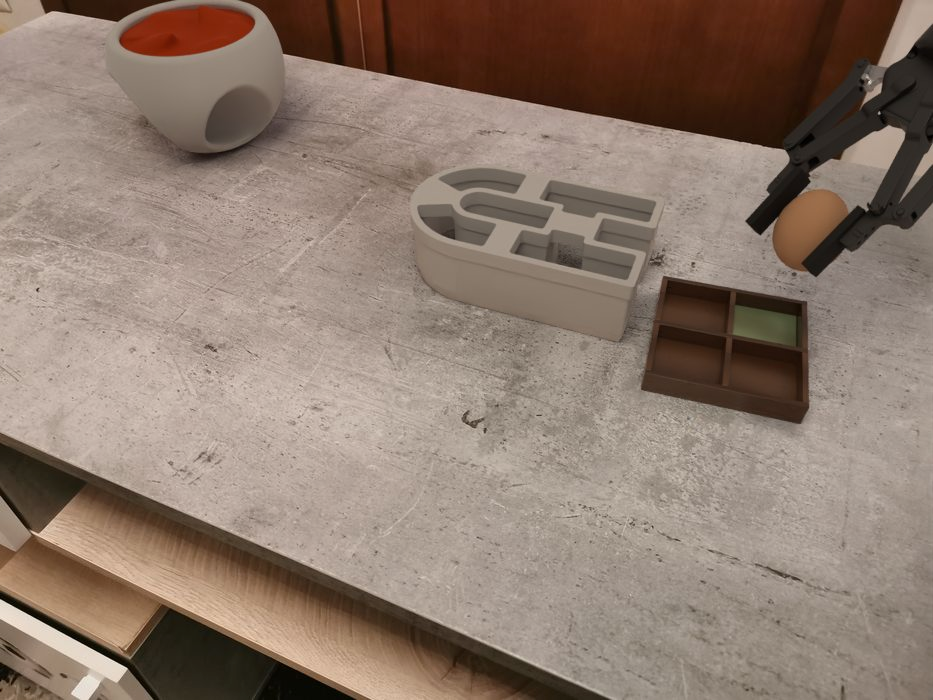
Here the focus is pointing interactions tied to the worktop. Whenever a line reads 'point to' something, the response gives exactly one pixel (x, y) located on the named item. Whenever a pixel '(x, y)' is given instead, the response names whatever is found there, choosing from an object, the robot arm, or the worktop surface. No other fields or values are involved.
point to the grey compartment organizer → (534, 245)
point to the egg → (806, 225)
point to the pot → (199, 70)
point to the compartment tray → (730, 349)
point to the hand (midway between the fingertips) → (780, 248)
